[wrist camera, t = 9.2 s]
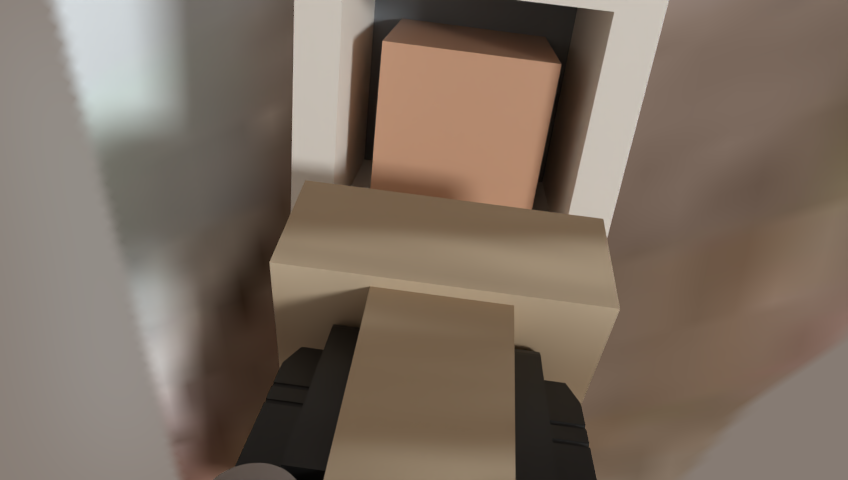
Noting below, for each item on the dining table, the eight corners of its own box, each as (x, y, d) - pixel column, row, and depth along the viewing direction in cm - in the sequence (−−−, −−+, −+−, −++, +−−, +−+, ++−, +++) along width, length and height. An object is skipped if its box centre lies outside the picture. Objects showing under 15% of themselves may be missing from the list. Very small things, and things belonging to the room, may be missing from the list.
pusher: (305, 180, 13) (95, 661, 6) (603, 218, 13) (701, 752, 6) (309, 287, 15) (152, 740, 8) (568, 321, 15) (616, 810, 8)
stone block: (389, 154, 20) (402, 18, 18) (519, 172, 20) (545, 36, 18) (369, 205, 16) (382, 40, 14) (528, 227, 16) (561, 64, 14)
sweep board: (344, -79, 17) (295, -82, 13) (625, -46, 17) (678, -36, 12) (319, 462, 26) (285, 574, 21) (505, 488, 25) (510, 607, 21)
